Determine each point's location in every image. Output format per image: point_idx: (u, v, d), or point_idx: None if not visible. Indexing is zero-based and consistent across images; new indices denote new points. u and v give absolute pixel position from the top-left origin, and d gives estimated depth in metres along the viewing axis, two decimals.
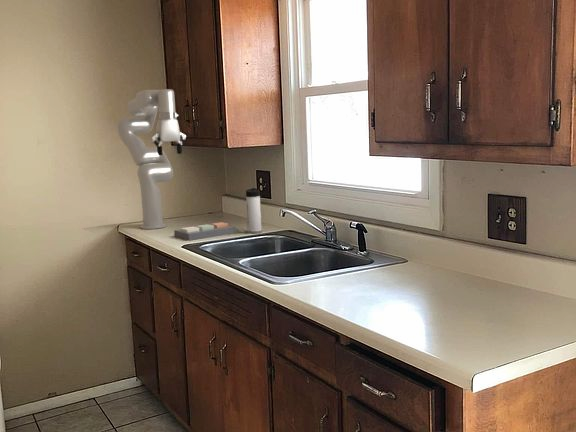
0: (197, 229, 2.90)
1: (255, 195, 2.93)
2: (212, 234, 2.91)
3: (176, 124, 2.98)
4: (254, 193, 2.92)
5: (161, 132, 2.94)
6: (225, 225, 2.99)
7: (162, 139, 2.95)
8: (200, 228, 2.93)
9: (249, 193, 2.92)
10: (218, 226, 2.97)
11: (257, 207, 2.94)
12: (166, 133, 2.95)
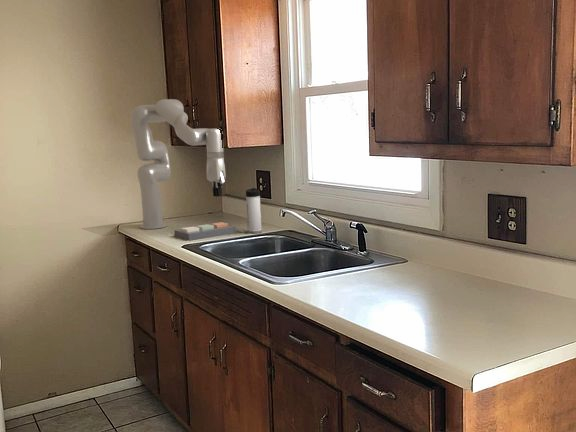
0: (197, 229, 2.90)
1: (255, 195, 2.93)
2: (212, 234, 2.91)
3: None
4: (254, 193, 2.92)
5: None
6: (225, 225, 2.99)
7: None
8: (200, 228, 2.93)
9: (249, 193, 2.92)
10: (218, 226, 2.97)
11: (257, 207, 2.94)
12: None
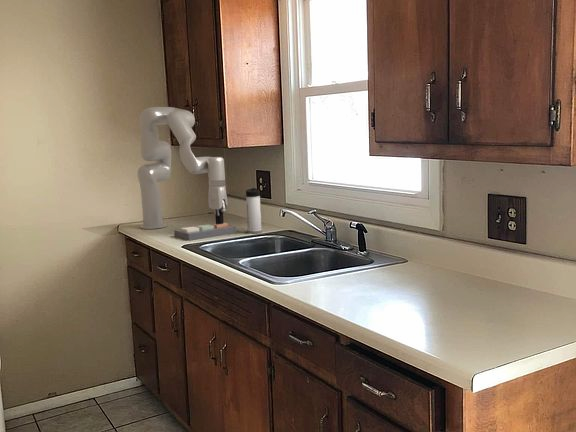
0: (197, 229, 2.90)
1: (255, 195, 2.93)
2: (212, 234, 2.91)
3: None
4: (254, 193, 2.92)
5: (226, 199, 2.96)
6: (225, 225, 2.99)
7: None
8: (200, 228, 2.93)
9: (249, 193, 2.93)
10: (218, 226, 2.97)
11: (257, 207, 2.94)
12: None
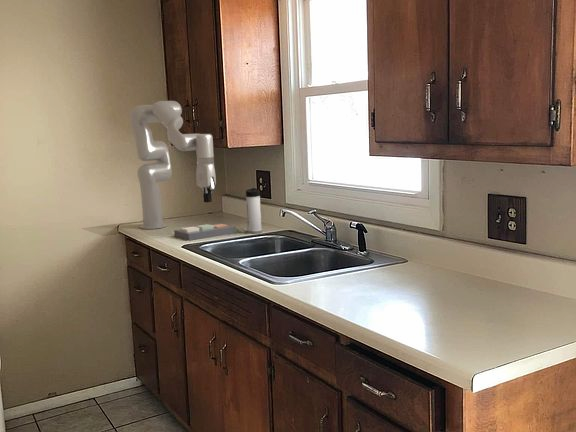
0: (197, 229, 2.90)
1: (255, 195, 2.93)
2: (212, 234, 2.91)
3: None
4: (254, 193, 2.92)
5: None
6: None
7: None
8: (200, 228, 2.93)
9: (249, 193, 2.92)
10: None
11: (257, 207, 2.94)
12: None
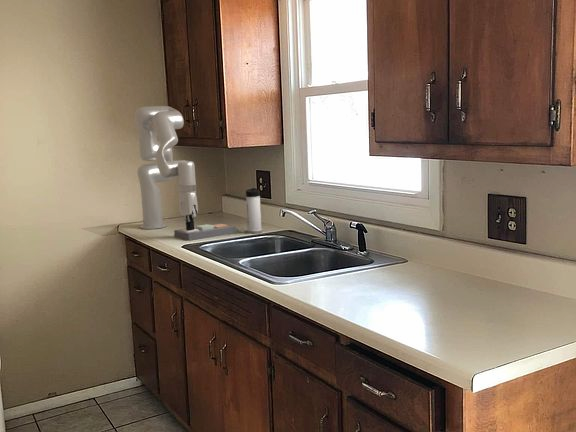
0: None
1: (255, 195, 2.93)
2: (212, 234, 2.91)
3: None
4: (254, 193, 2.92)
5: None
6: None
7: None
8: (200, 228, 2.93)
9: (249, 193, 2.92)
10: None
11: (257, 207, 2.94)
12: None
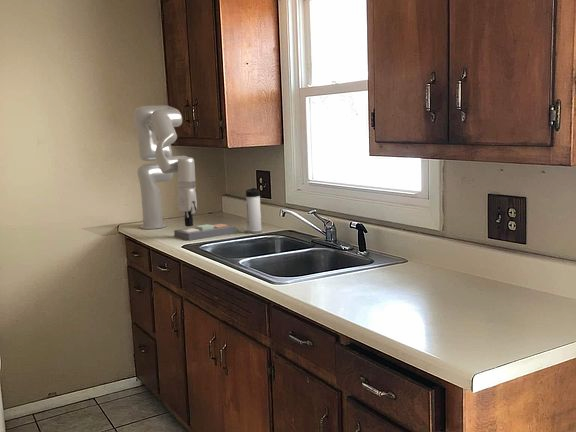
0: None
1: (255, 195, 2.93)
2: (212, 234, 2.91)
3: None
4: (254, 193, 2.92)
5: (196, 201, 2.88)
6: None
7: None
8: (200, 228, 2.93)
9: (249, 193, 2.92)
10: None
11: (257, 207, 2.94)
12: None
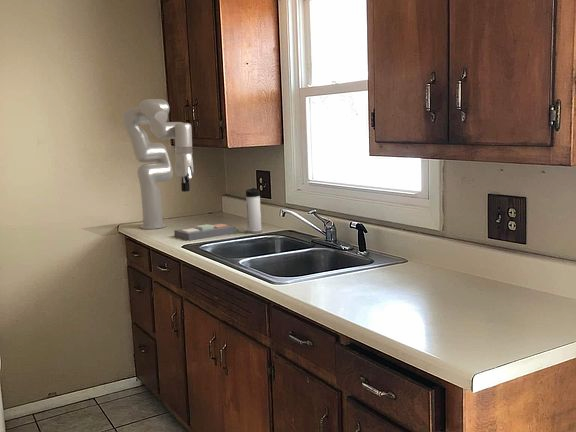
0: None
1: (255, 195, 2.93)
2: (212, 234, 2.91)
3: None
4: (254, 193, 2.92)
5: None
6: None
7: None
8: (200, 228, 2.93)
9: (249, 193, 2.92)
10: None
11: (257, 207, 2.94)
12: None
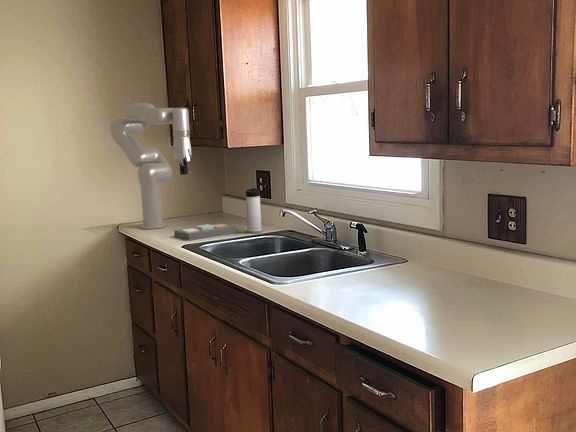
0: None
1: (255, 195, 2.93)
2: (212, 234, 2.91)
3: None
4: (254, 193, 2.92)
5: (190, 149, 3.00)
6: None
7: None
8: (200, 228, 2.93)
9: (249, 193, 2.92)
10: None
11: (257, 207, 2.94)
12: None
